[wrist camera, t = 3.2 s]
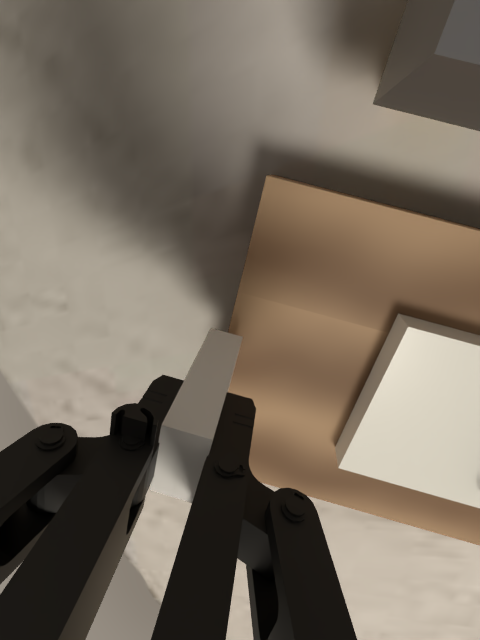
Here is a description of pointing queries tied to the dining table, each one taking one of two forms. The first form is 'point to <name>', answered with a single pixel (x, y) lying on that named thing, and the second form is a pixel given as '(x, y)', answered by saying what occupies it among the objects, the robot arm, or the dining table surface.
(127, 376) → the dining table surface
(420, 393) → the plate
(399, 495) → the socket board
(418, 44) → the plug
